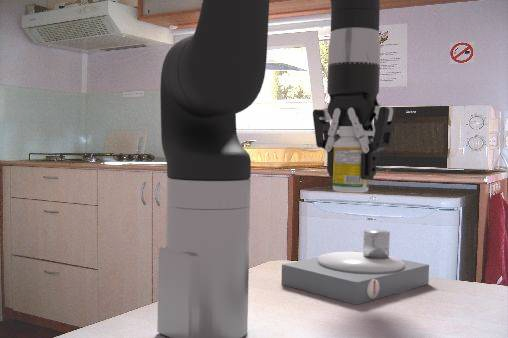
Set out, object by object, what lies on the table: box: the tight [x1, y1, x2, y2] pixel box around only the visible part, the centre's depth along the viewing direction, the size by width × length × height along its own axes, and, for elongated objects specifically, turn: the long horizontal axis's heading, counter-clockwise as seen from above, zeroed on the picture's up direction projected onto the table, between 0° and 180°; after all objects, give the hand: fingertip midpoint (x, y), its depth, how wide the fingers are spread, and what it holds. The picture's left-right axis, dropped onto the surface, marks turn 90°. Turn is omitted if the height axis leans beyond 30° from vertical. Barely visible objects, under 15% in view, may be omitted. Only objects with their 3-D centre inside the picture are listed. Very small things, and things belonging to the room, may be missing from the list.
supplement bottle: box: [332, 126, 370, 194], centre depth 85 cm, size 5×5×10 cm
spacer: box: [362, 229, 391, 259], centre depth 91 cm, size 4×4×4 cm
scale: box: [281, 250, 430, 306], centre depth 87 cm, size 18×14×4 cm
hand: (350, 177), depth 85 cm, fingers closed on supplement bottle, 5 cm apart
